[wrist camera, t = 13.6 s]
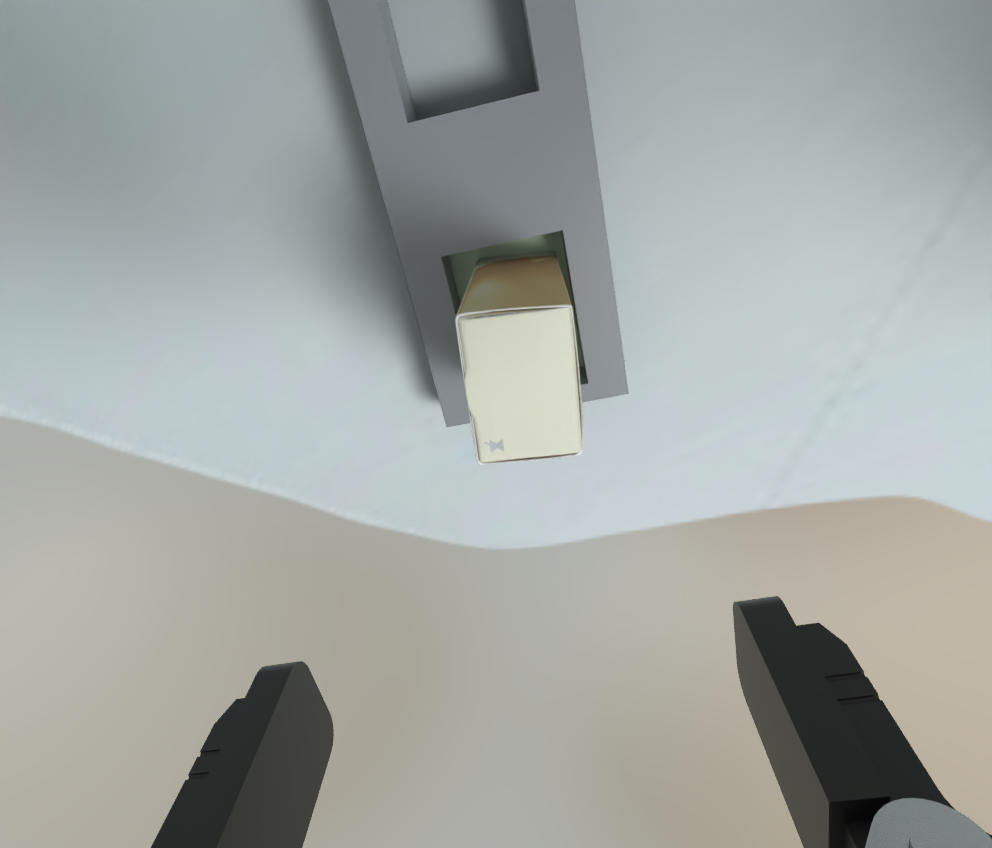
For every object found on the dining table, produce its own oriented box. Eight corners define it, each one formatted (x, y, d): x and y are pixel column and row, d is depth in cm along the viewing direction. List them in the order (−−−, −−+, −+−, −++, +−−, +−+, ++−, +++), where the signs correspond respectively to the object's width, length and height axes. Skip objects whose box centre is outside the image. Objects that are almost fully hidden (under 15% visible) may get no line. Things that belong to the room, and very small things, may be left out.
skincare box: (565, 358, 35) (587, 464, 24) (489, 366, 36) (476, 474, 24) (556, 242, 32) (576, 302, 21) (474, 252, 33) (451, 315, 22)
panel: (545, -158, 26) (548, -191, 23) (620, 373, 36) (628, 393, 33) (317, -91, 27) (295, -115, 24) (451, 405, 37) (446, 427, 34)
